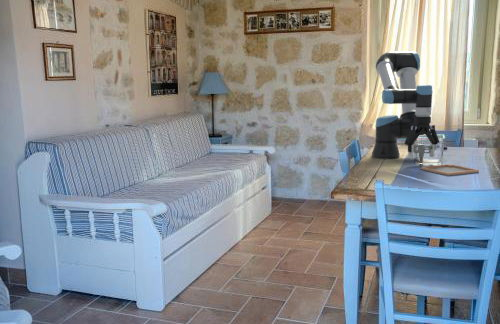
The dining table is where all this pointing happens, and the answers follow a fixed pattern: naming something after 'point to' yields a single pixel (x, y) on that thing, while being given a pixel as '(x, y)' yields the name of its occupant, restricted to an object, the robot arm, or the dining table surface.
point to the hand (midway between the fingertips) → (421, 157)
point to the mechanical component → (421, 151)
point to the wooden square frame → (449, 169)
